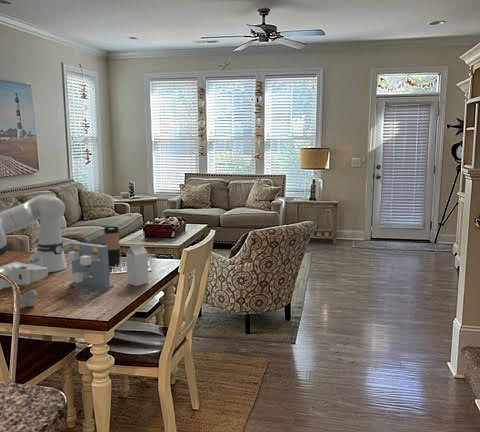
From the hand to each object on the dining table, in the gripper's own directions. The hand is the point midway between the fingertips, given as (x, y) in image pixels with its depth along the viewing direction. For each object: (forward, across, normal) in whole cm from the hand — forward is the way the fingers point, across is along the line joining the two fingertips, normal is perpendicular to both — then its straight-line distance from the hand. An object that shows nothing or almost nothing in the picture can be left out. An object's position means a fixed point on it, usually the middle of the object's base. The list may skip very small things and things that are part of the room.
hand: (41, 265), depth 201 cm
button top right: (+18, +11, -2) cm, 21 cm away
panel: (+23, +5, -15) cm, 28 cm away
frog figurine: (-9, +2, -15) cm, 18 cm away
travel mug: (+57, -13, -15) cm, 61 cm away
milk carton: (+36, +22, -15) cm, 45 cm away
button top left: (+22, 0, -2) cm, 22 cm away
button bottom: (+18, +5, -10) cm, 21 cm away
